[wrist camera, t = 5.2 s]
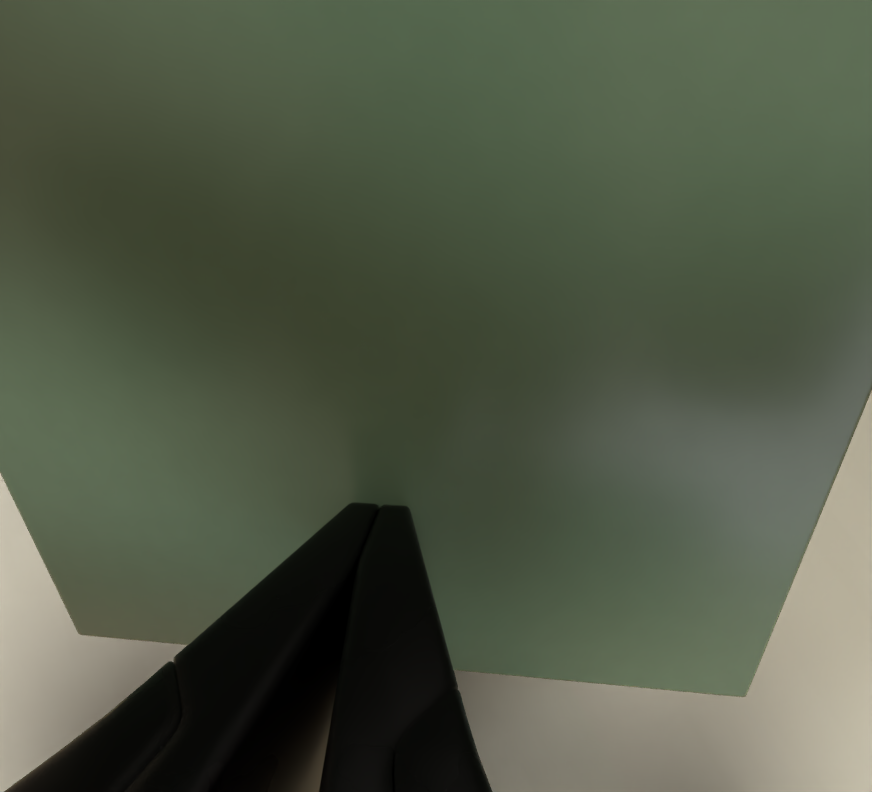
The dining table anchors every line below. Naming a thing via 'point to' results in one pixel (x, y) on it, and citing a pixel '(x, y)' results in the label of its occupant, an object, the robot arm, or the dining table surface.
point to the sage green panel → (439, 308)
